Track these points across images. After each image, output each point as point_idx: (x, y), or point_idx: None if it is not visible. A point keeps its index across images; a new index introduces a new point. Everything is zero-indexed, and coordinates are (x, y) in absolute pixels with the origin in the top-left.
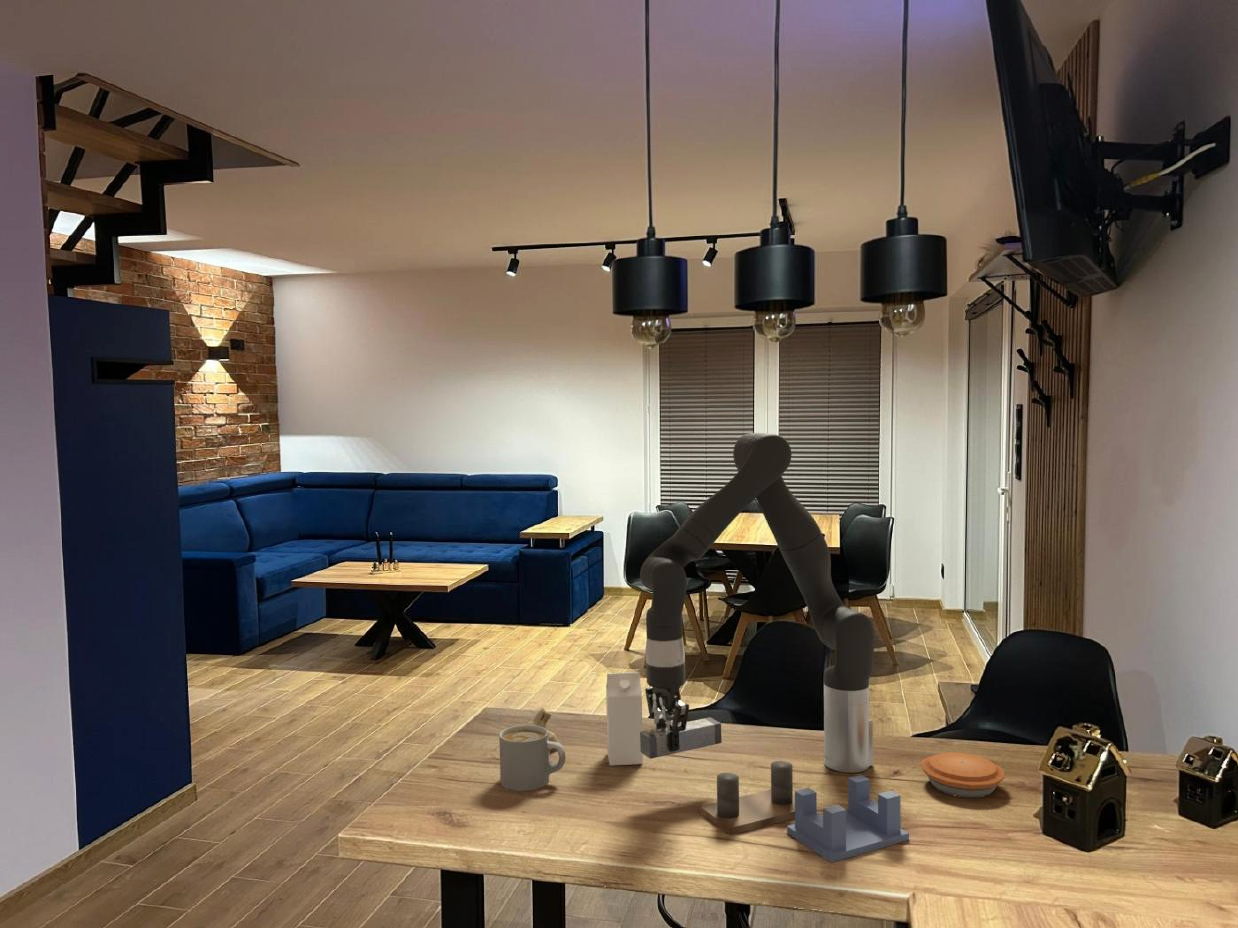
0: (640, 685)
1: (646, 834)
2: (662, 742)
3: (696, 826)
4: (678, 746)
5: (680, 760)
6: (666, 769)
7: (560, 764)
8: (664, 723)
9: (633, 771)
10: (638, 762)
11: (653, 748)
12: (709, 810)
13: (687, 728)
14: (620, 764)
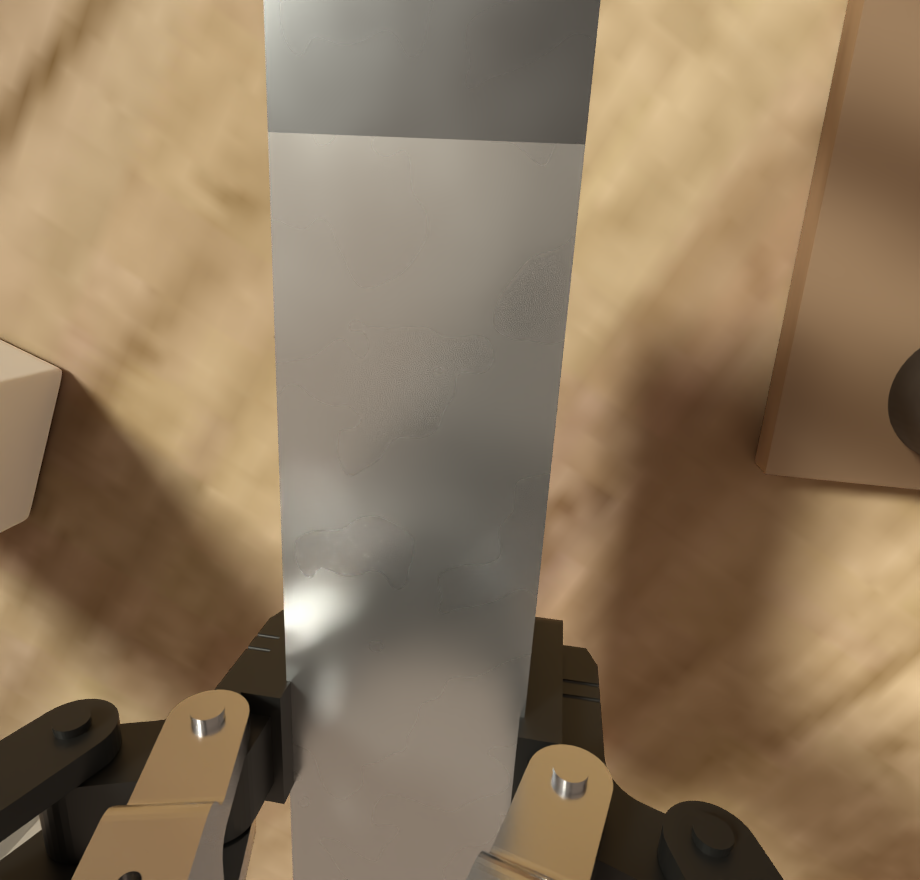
0: None
1: (772, 781)
2: None
3: (871, 570)
4: (594, 669)
5: (85, 135)
6: (173, 290)
7: None
8: (265, 732)
9: (131, 457)
10: (52, 391)
11: None
12: (845, 461)
13: (483, 558)
14: (37, 474)
